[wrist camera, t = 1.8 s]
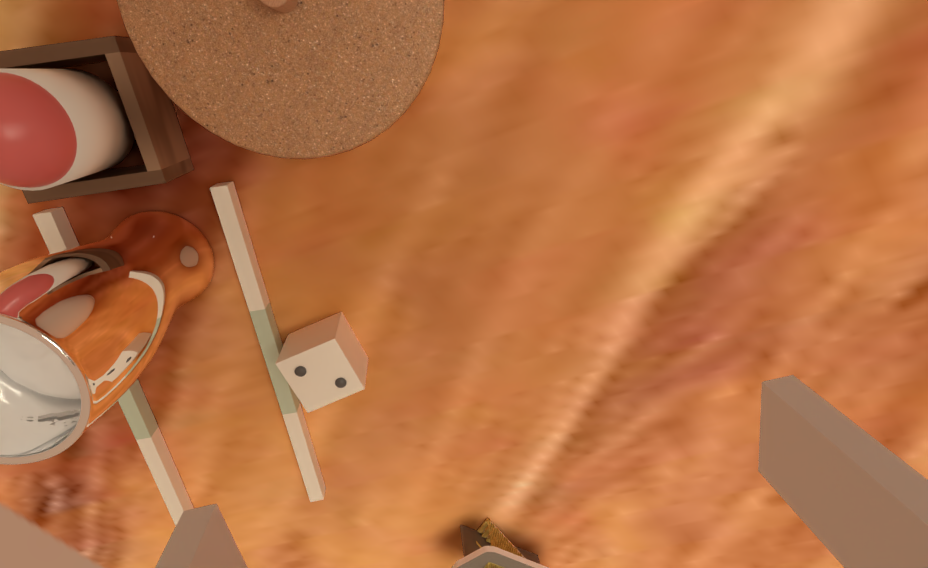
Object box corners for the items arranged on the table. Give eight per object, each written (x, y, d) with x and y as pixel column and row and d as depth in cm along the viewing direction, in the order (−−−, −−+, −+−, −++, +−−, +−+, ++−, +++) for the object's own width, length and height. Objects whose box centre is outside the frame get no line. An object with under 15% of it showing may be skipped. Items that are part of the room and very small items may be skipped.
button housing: (18, 58, 28) (-40, 56, 25) (151, 40, 29) (114, 35, 25) (73, 187, 31) (28, 203, 27) (194, 169, 31) (166, 182, 28)
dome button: (9, 76, 26) (-122, 78, 20) (112, 62, 26) (17, 59, 20) (52, 177, 28) (-53, 209, 21) (148, 163, 28) (73, 190, 22)
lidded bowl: (168, 74, 29) (42, 76, 19) (239, -178, 26) (130, -342, 15) (380, 171, 32) (370, 217, 22) (471, -41, 29) (508, -102, 19)
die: (288, 333, 36) (275, 364, 32) (341, 310, 36) (334, 339, 32) (317, 379, 37) (307, 413, 34) (368, 357, 37) (364, 389, 33)
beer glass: (241, 288, 34) (132, 436, 20) (141, 322, 34) (-35, 492, 21) (188, 187, 32) (20, 278, 18) (79, 224, 32) (-171, 343, 18)
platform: (452, 438, 41) (460, 502, 35) (626, 517, 46) (660, 585, 40) (376, 542, 44) (372, 617, 38) (547, 605, 49) (567, 680, 43)
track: (45, 209, 31) (32, 214, 30) (233, 181, 32) (227, 185, 31) (182, 513, 40) (175, 526, 39) (325, 487, 41) (323, 499, 40)
